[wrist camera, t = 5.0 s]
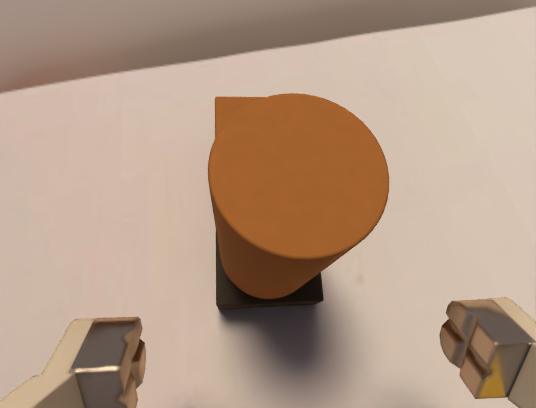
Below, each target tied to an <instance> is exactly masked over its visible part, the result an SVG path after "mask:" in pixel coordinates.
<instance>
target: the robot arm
mask: <svg viewBox="0 0 536 408" xmlns="http://www.w3.org/2000/svg"><path fill="white" fill-rule="evenodd" d="M446 314H447V316H448V318H449V319H448V320H447V321H446V322H445V323H444V324H443V325H442V327H441V331H440V343H441V347H442V350H443V352H444V354H445V356H446V357H447V359H448V360H449V362H451V363H452V364H454V365H456V366H457V367H459V368H460V375H459V376H460V378H461V379H462V380H463V382H464V383H465V385H466V386H467V388H468V389H469V390H470V392H471V393H472V395H473V396H474V398H475V399H485V398H504V397H508V400H509V401H511V402H512V403H513V404H515V405H516V406H517V407H519V408H536V322H535V321H534V320H533V319H532V318H531V317H530V316H529V315H528V314H527V313H525V312H524V311H523V310H522V309H521V308H520V307H519V306H518V305H517V304H516V303H514V302H513V301H512V300H510V299H508V298H506V297H504V298H489V299H478V300H461V301H452V302H451V303H450V304H449V305H448V307H447V310H446ZM141 333H142V324H141V319H140V318H139V317H118V318H97V319H75V320H74V321H72V322H71V323H70V324H69V326H68V328H67V330H66V331H65V333H64V335H63V337H62V339H61V340H60V342H59V344H58V346H57V347H56V349H55V351H54V353H53V355H52V356H51V358H50V360H49V362H48V363H47V365H46V367H45V369H44V370H43V372H42V374H41V375H38V376H33V377H31V378H30V379H29V380H27V381H26V382H25V383H23V384H22V385H21V386H19V387H18V388H16V389H15V390H14V391H12V392H11V393H10V394H8V395H7V396H6V397H4V398H3V399H1V400H0V408H136V406H137V402H138V397H137V391H136V389H137V388H138V387H139V386H140V385H141V384H142V382H143V377H144V373H145V364H146V349H145V343H144V342H143V341H142V340H141V339H140V336H141Z"/></svg>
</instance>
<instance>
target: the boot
mask: <svg viewBox="0 0 536 408" xmlns="http://www.w3.org/2000/svg"><path fill="white" fill-rule="evenodd" d="M208 180H209V188H210V194H211V200H212V206H213V213H214V219H215V225H216V305H217V307H218V309H238V308H257V307H277V306H296V305H314V304H316V303H319V302H321V301H323V290H322V280H321V271H323V270H324V269H325V268H327V267H328V266H329V265H331V264H332V263H333V262H335V261H336V260H337V259H339V258H340V257H341V256H343V255H344V254H345V253H347V252H348V251H349V250H351V249H352V248H353V247H355V246H356V245H357V244H358V243H360V242H361V241H362V240H364V239H365V238H366V237H367V236H368V235H369V234H370V232H371V231H372V230H373V229H374V227H375V226H376V225H377V223H378V222H379V220H380V218H381V216H382V214H383V212H384V209H385V206H386V203H387V199H388V192H389V174H388V167H387V163H386V159H385V156H384V154H383V151H382V149H381V147H380V145H379V143H378V141H377V139H376V138H375V136H374V135H373V134H372V132H371V131H370V130H369V129H368V127H367V126H366V125H365V124H364V123H363V122H362V121H361V120H360V119H358V118H357V117H356V116H355V115H354V114H352V113H351V112H349V111H348V110H347V109H345V108H343V107H341V106H340V105H338V104H336V103H334V102H331V101H329V100H326V99H323V98H320V97H316V96H311V95H306V94H279V95H273V96H269V97H216V98H215V141H214V143H213V146H212V148H211V152H210V157H209V163H208Z"/></svg>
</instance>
